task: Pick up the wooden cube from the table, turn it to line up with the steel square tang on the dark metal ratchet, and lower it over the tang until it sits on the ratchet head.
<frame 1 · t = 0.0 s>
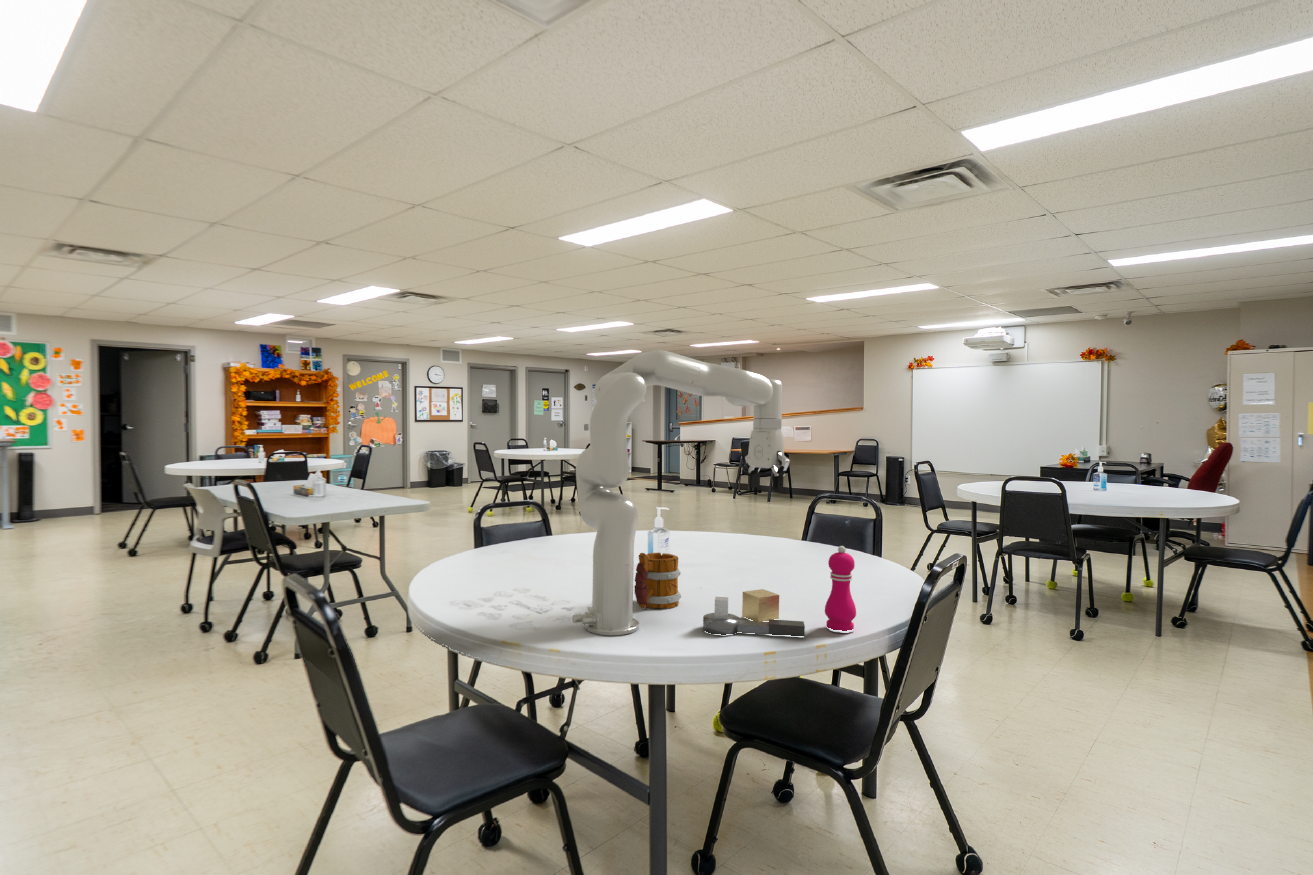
hand: (765, 489, 174), 31 cm above the table, tool pointing down, fingers open, 9 cm apart
pepper mill: (839, 630, 154), on the table
ratchet: (720, 630, 152), on the table
mug: (654, 606, 171), on the table
wooden cube: (760, 619, 161), on the table
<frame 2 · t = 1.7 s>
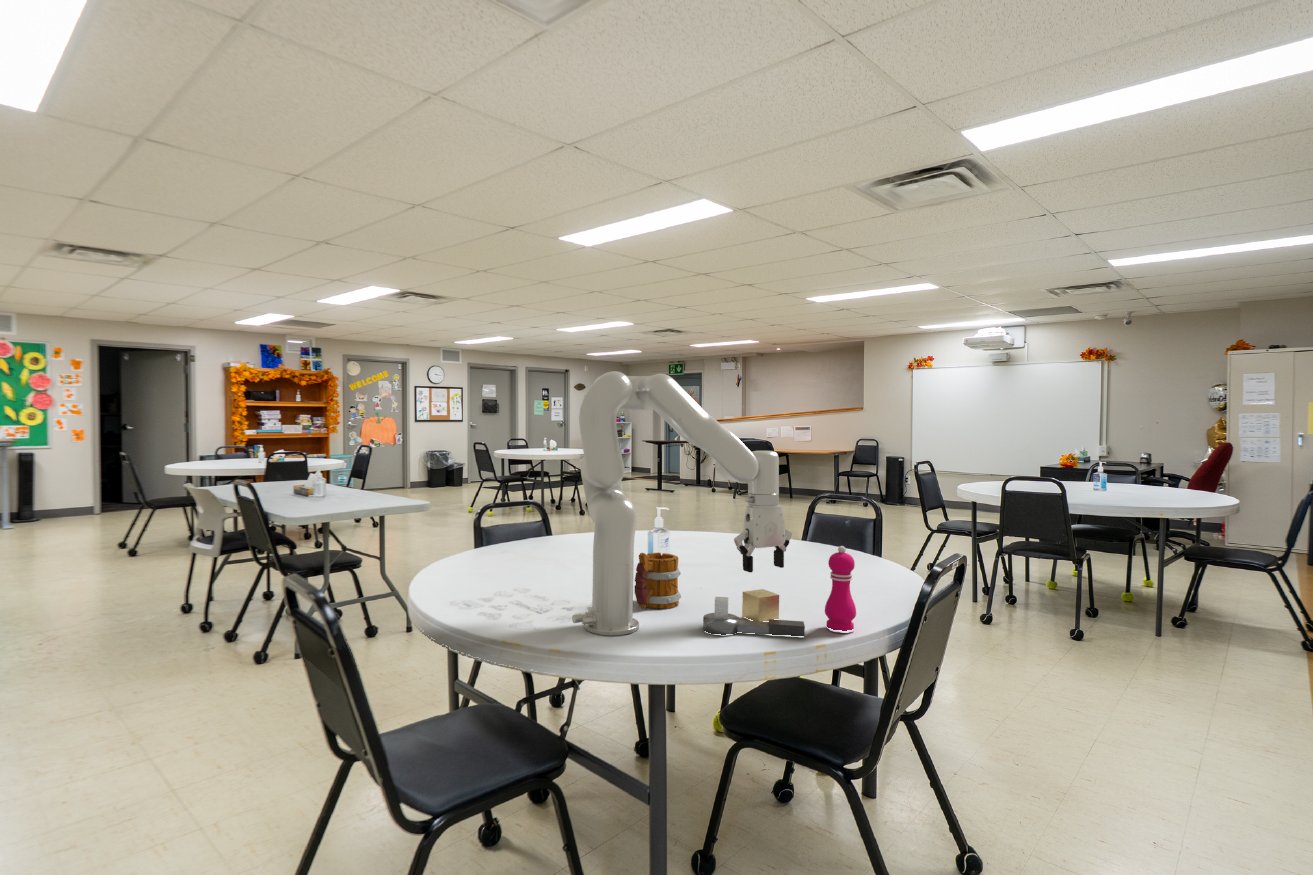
hand: (763, 568, 161), 13 cm above the table, tool pointing down, fingers open, 9 cm apart
nothing on the table moved.
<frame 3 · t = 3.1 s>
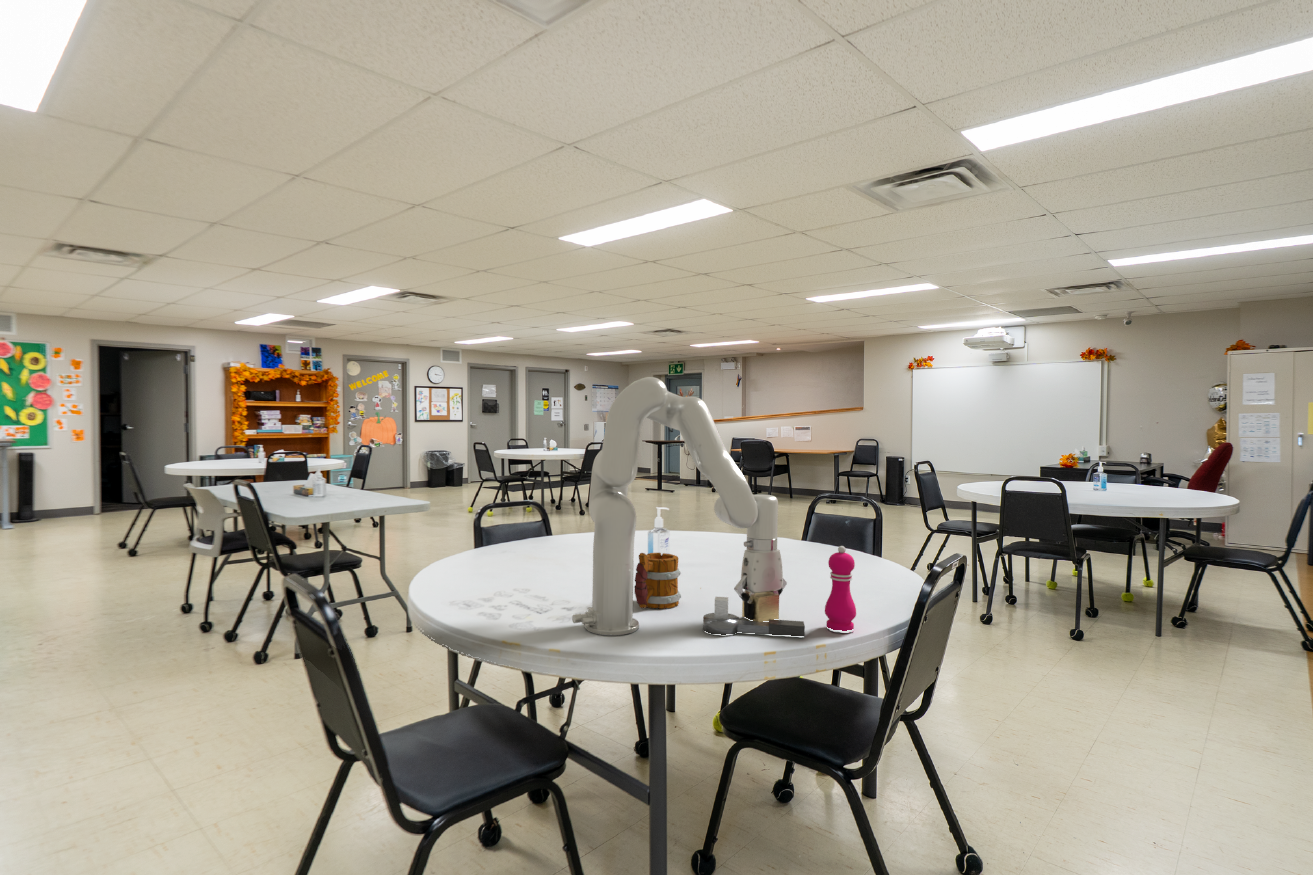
hand: (760, 615, 161), 1 cm above the table, tool pointing down, fingers closed on wooden cube, 6 cm apart
wooden cube: (760, 619, 161), on the table, touching gripper
everything else where it was.
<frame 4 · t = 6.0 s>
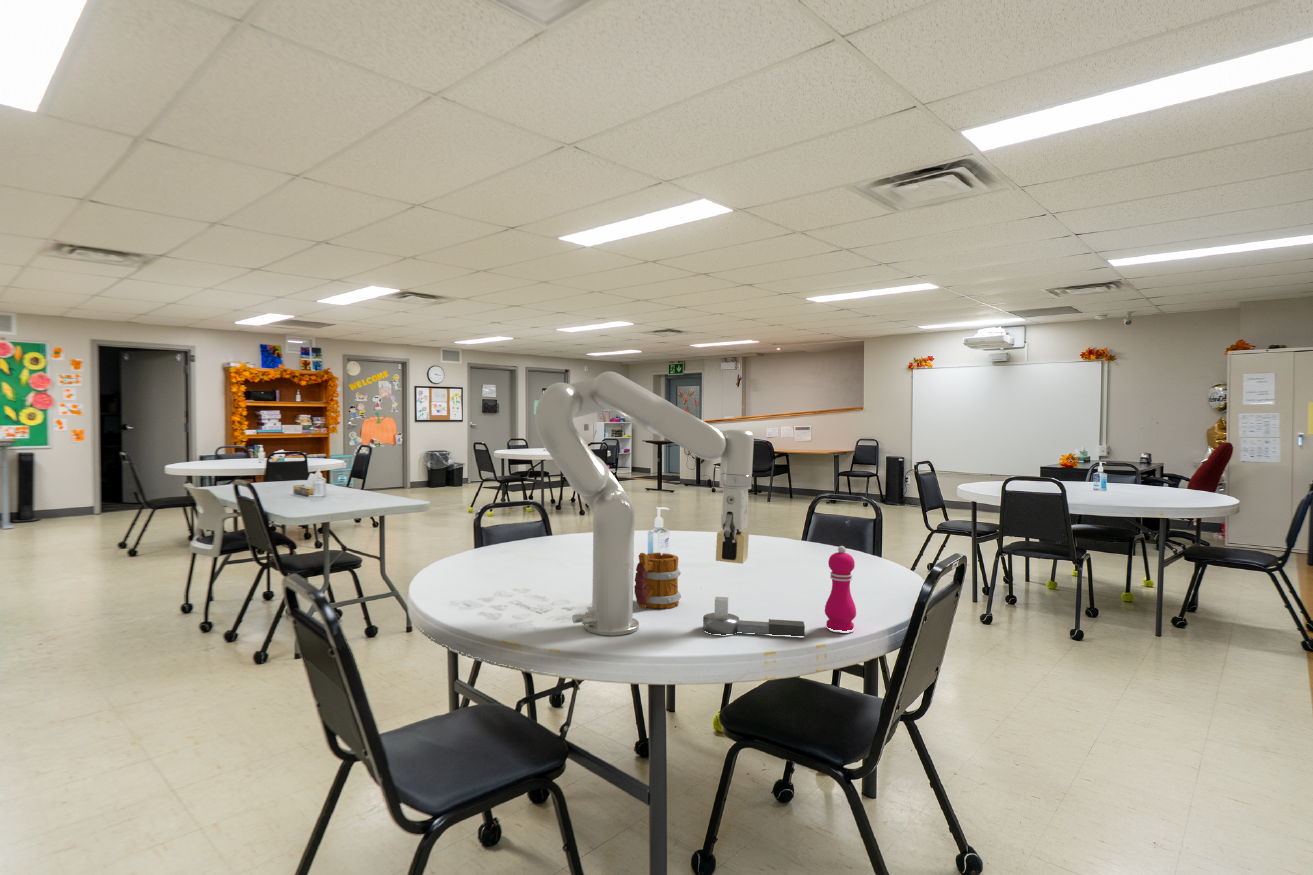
hand: (731, 556, 154), 17 cm above the table, tool pointing down, fingers closed on wooden cube, 6 cm apart
wooden cube: (731, 559, 154), point 16 cm above the table, touching gripper
everything else where it was.
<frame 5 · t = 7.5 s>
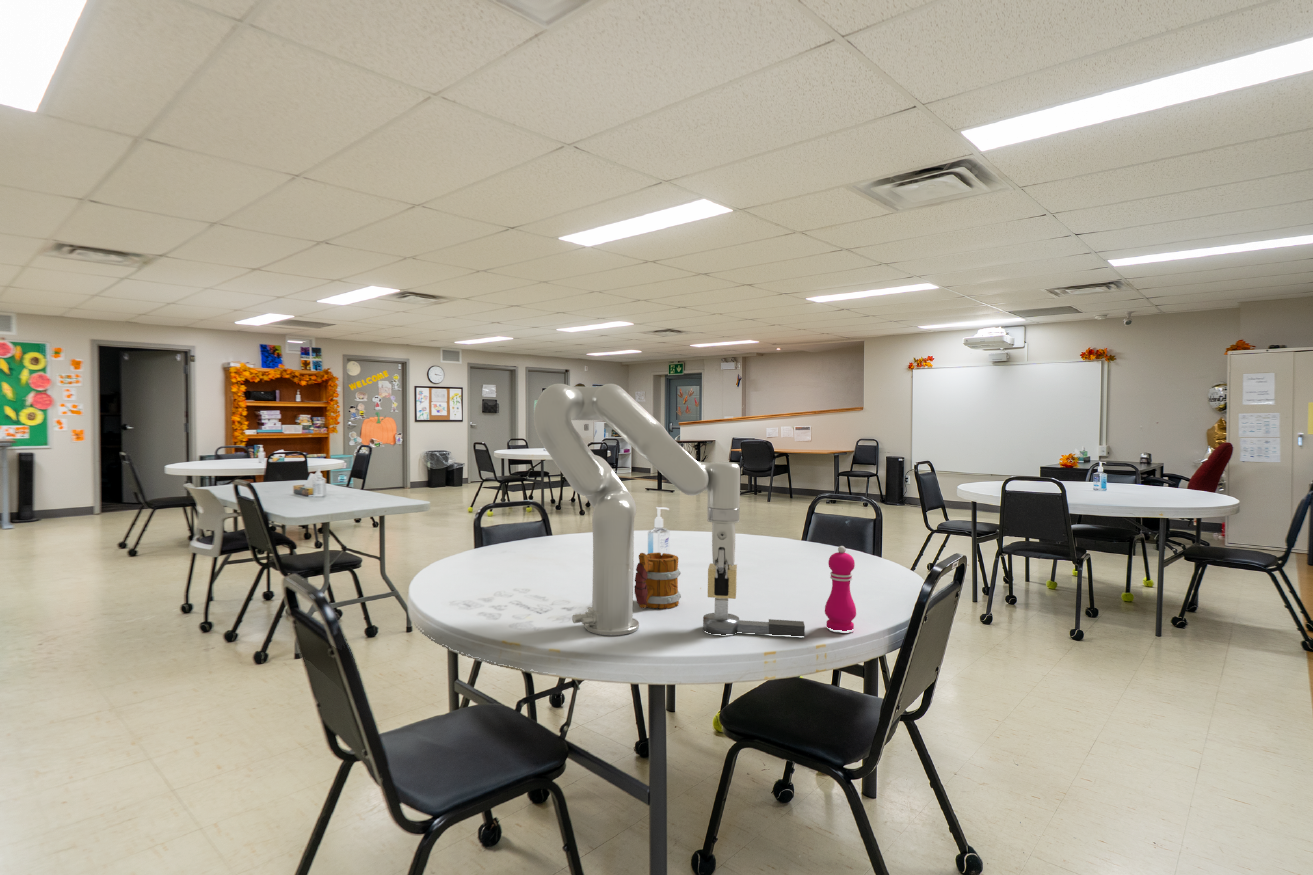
hand: (722, 590, 151), 9 cm above the table, tool pointing down, fingers closed on wooden cube, 6 cm apart
wooden cube: (722, 594, 151), point 8 cm above the table, touching gripper
everything else where it was.
when the fingers open (5 cm above the table, at t = 8.7 s): wooden cube drops 2 cm, resting on ratchet.
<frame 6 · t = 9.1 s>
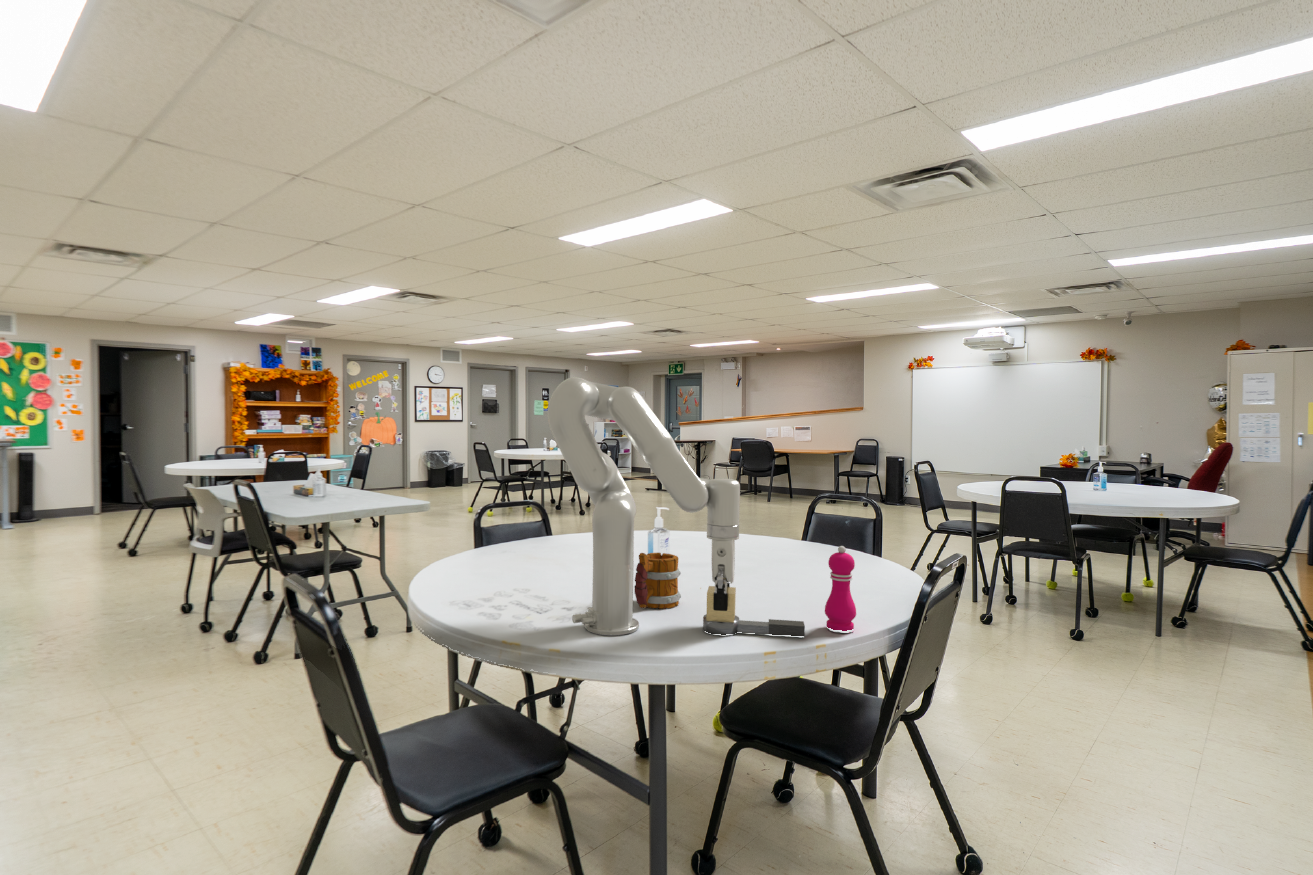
hand: (721, 604, 151), 6 cm above the table, tool pointing down, fingers open, 9 cm apart
wooden cube: (721, 617, 152), point 3 cm above the table, touching ratchet
everything else where it was.
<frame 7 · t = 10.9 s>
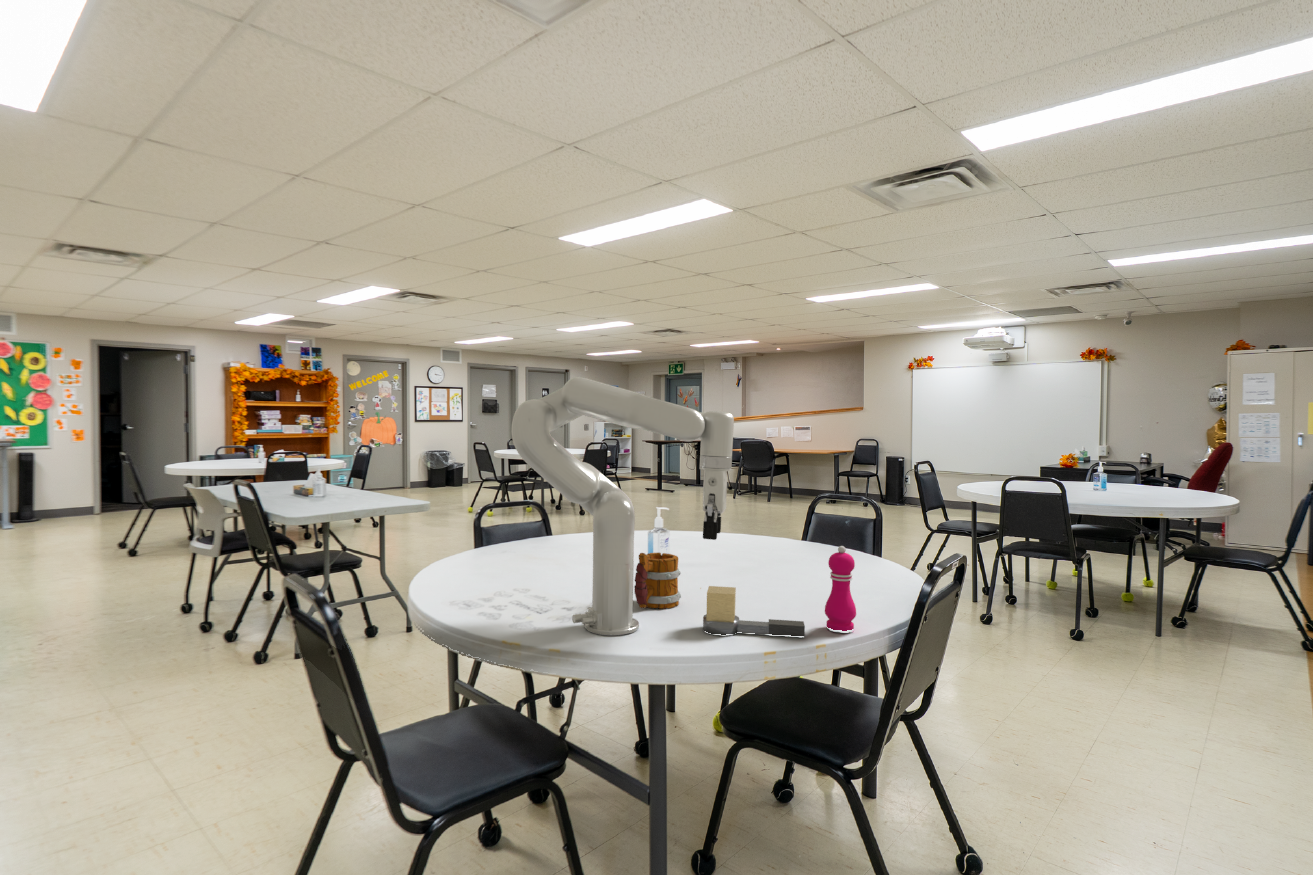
hand: (711, 535, 153), 22 cm above the table, tool pointing down, fingers open, 9 cm apart
nothing on the table moved.
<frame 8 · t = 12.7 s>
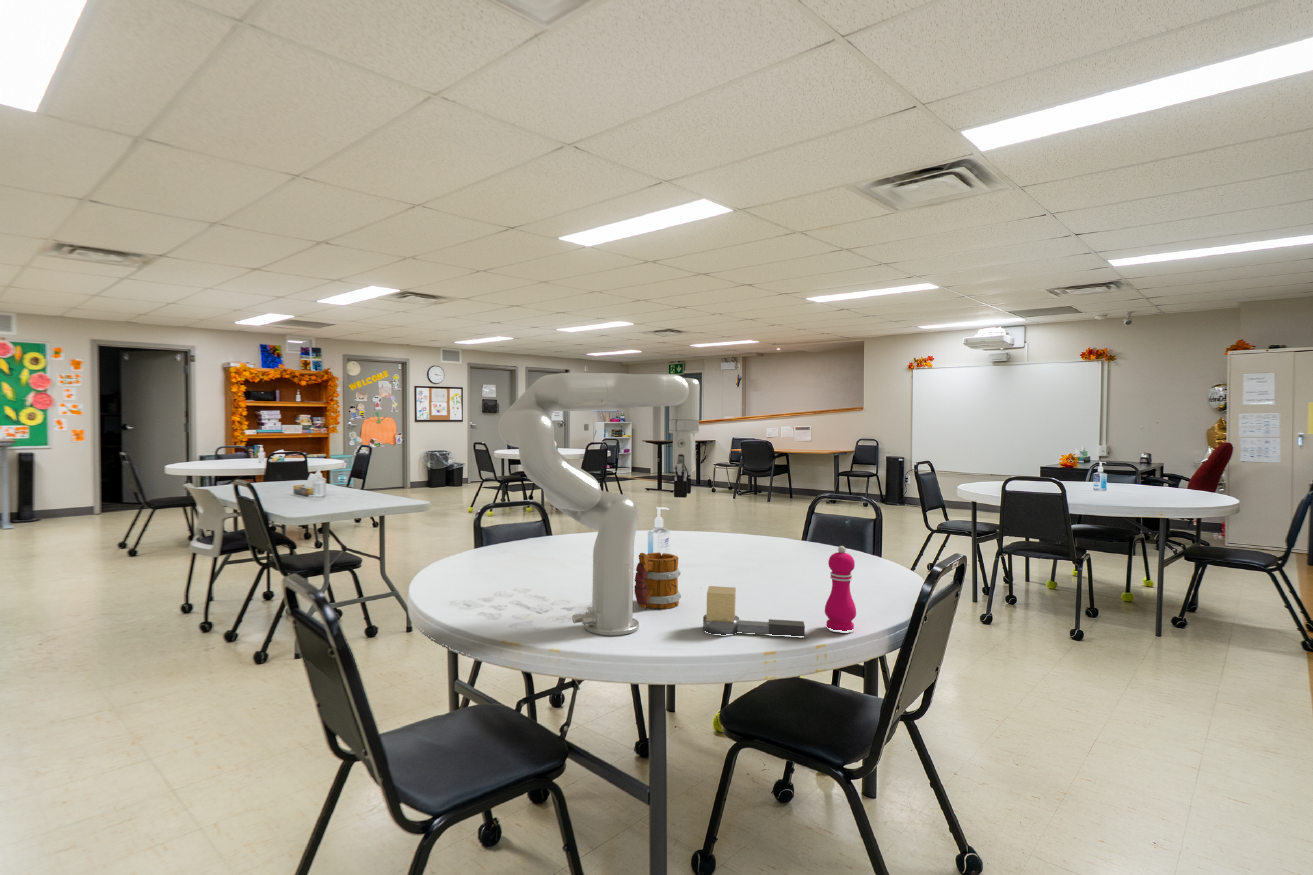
hand: (682, 495, 163), 30 cm above the table, tool pointing down, fingers open, 9 cm apart
nothing on the table moved.
at the end: wooden cube 0.1 cm from the ratchet (horizontally); wooden cube point 3.0 cm above the table; wooden cube tilted 0° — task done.
